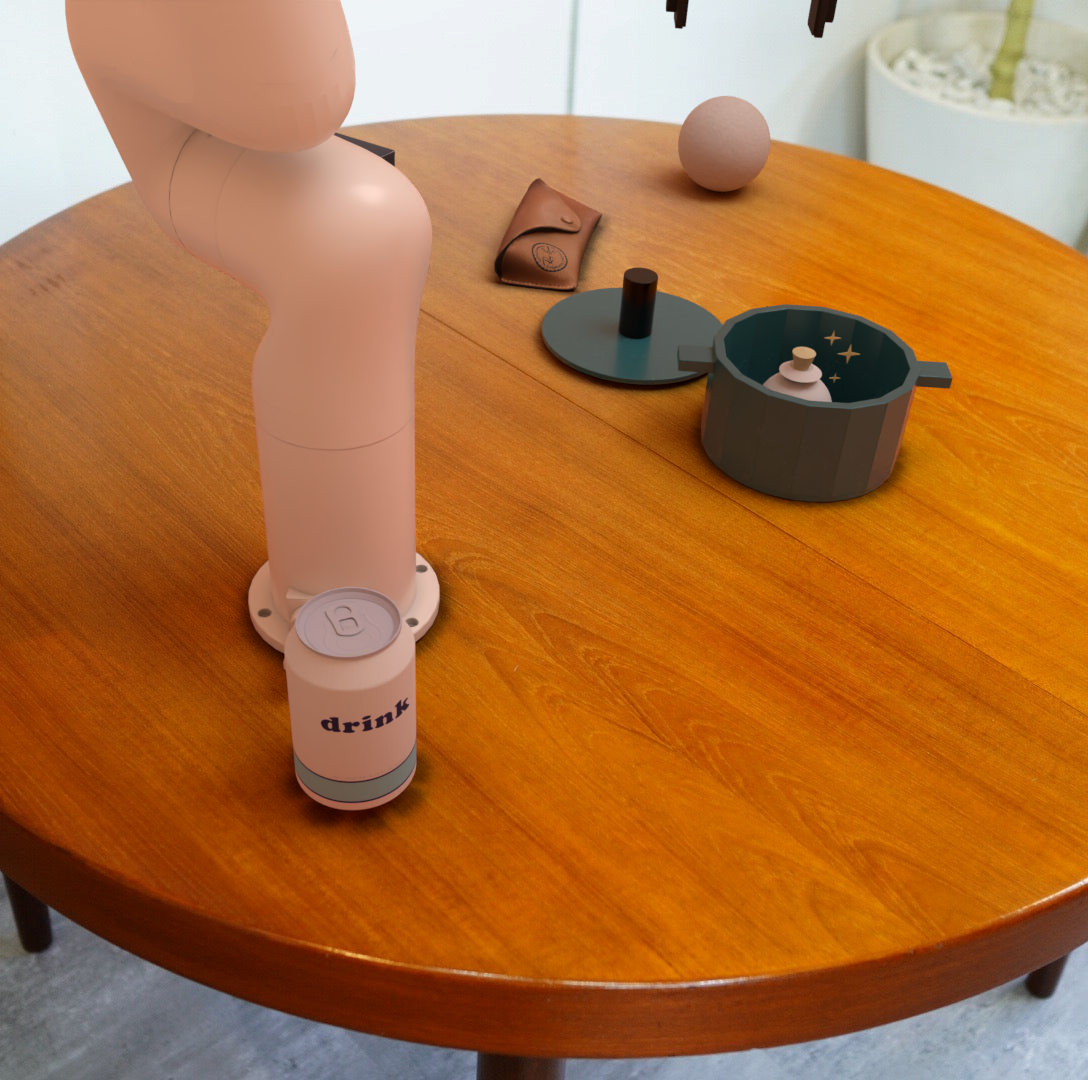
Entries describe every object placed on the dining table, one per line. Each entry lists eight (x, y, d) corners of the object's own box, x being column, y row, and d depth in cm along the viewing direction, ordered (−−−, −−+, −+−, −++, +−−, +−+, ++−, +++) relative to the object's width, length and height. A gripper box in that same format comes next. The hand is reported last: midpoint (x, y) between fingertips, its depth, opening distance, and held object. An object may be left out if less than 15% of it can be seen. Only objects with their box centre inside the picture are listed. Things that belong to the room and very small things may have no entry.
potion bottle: (742, 419, 108) (761, 310, 102) (831, 419, 109) (855, 311, 103) (757, 461, 103) (777, 349, 97) (849, 461, 104) (876, 351, 98)
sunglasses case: (581, 288, 125) (549, 227, 121) (517, 314, 127) (484, 256, 124) (604, 211, 139) (576, 155, 136) (546, 236, 142) (517, 182, 138)
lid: (733, 397, 112) (745, 328, 108) (537, 384, 112) (541, 314, 108) (720, 303, 125) (729, 239, 121) (544, 292, 125) (548, 227, 121)
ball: (780, 189, 147) (795, 100, 141) (728, 214, 141) (742, 123, 135) (707, 162, 152) (719, 76, 146) (655, 186, 146) (664, 96, 140)
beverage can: (315, 836, 73) (302, 680, 65) (282, 750, 78) (267, 595, 70) (433, 802, 75) (433, 647, 68) (394, 720, 80) (390, 567, 73)
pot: (946, 511, 100) (974, 416, 95) (671, 492, 100) (684, 397, 95) (909, 402, 113) (932, 313, 107) (664, 386, 113) (675, 296, 107)
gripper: (651, -253, 80) (625, 36, 90) (936, -234, 80) (877, 52, 90) (648, -269, 86) (624, 3, 96) (913, -251, 86) (860, 19, 96)
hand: (746, 27), depth 93 cm, fingers open, 9 cm apart
